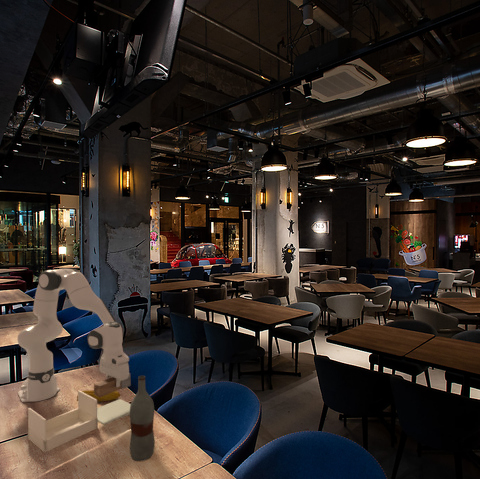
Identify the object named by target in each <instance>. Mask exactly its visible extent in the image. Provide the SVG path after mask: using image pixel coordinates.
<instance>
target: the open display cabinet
mask: <svg viewBox="0 0 480 479" xmlns="http://www.w3.org/2000/svg"><path fill="white" fill-rule="evenodd" d="M77 395H78V401H77V408H74V409H72V410H69V411H67V412H64V413H62V414H60V415H57V416H54V417H51V418H49V419H46V418H45V417H43V416H42V415H41V414H39V413H38V412H37V411H35V410H33V408H31V407H28V408H27V414H28V415H27V418H28V419H27V420H28V427H27V439H28V440H29V441H30V442H31V443H33V445H35V446H36V447H37V448H38V449H40V450H41V451H42V452H43V453H46V452H49V451H51V450H53V449H55V448H58V447H59V446H62V445H64V444H66V443H68V442H70V441H73V440H74V439H76V438H79V437H81V436H83V435H86V434H88V433H90V432H92V431H94V430H97V429H98V428H99V422H98V418H97V408H98V402H97V399H95V398H93V397H91V396H89V395H87V394H85V393H83V392H82V391H81V390H77Z"/></svg>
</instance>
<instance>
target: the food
mask: <svg viewBox="0 0 480 479" xmlns="http://www.w3.org/2000/svg"><path fill="white" fill-rule="evenodd" d="M81 392H83V393H85V394H87V395H89V396H91V397H93V398H95V399H97V403H99V402H108V401H116V400H118V399H119V398H120V397H121V393H120V391H119V390H117V391H114V392H112V393H109V394H107V395H104V396H102V397H98V396H96V395H94V389H92V390H82V391H81ZM76 401H77V402H78V394H77V396H76Z"/></svg>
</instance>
